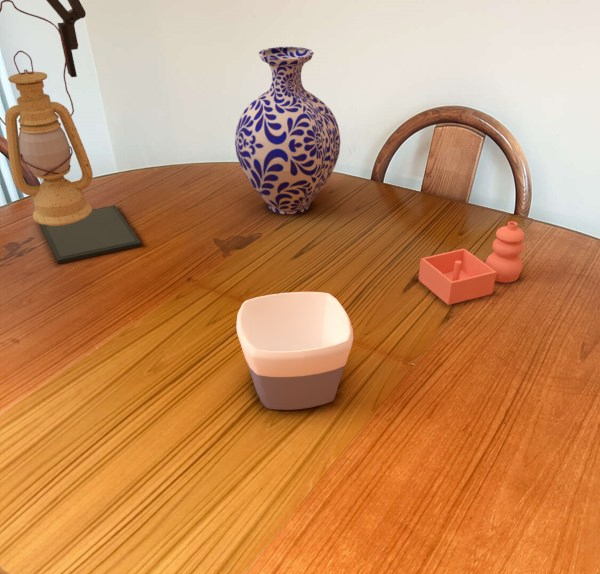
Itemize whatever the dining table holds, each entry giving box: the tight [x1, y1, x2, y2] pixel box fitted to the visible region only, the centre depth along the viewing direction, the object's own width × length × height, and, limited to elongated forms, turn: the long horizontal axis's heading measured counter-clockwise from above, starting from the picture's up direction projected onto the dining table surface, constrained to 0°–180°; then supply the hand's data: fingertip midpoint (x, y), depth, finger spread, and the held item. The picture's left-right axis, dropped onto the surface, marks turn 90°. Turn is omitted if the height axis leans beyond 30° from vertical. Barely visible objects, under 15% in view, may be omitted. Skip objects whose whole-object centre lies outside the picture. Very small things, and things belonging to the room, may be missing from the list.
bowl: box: [235, 291, 354, 411], centre depth 90 cm, size 15×15×11 cm
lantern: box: [0, 0, 94, 226], centre depth 97 cm, size 12×10×30 cm
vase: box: [234, 46, 341, 215], centre depth 133 cm, size 22×22×30 cm
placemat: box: [39, 204, 143, 265], centre depth 132 cm, size 16×20×1 cm
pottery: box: [417, 221, 526, 306], centre depth 114 cm, size 18×10×10 cm, turn 114°
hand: (30, 79), depth 94 cm, fingers closed on lantern, 11 cm apart
